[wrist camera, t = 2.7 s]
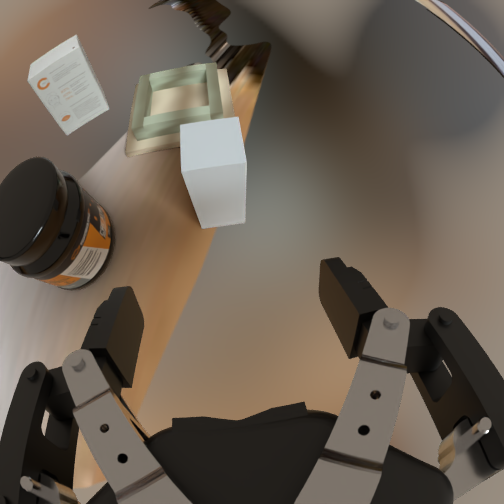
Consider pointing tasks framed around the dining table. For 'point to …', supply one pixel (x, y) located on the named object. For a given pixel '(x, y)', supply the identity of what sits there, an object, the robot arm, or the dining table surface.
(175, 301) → the dining table surface
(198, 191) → the block
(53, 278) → the supplement container
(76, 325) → the dining table surface
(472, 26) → the dining table surface
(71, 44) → the small box
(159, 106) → the cradle jig
